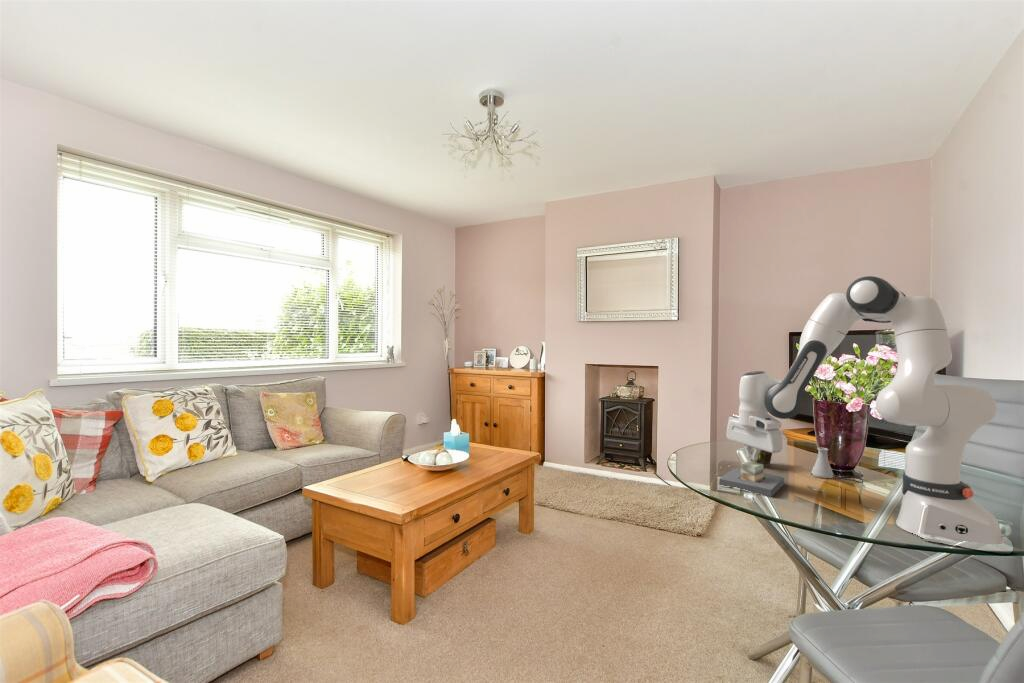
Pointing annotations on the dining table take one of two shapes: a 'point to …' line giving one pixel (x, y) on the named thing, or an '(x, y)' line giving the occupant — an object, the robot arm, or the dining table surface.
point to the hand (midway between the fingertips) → (752, 458)
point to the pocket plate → (753, 483)
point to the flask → (822, 465)
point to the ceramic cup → (763, 458)
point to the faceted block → (752, 471)
